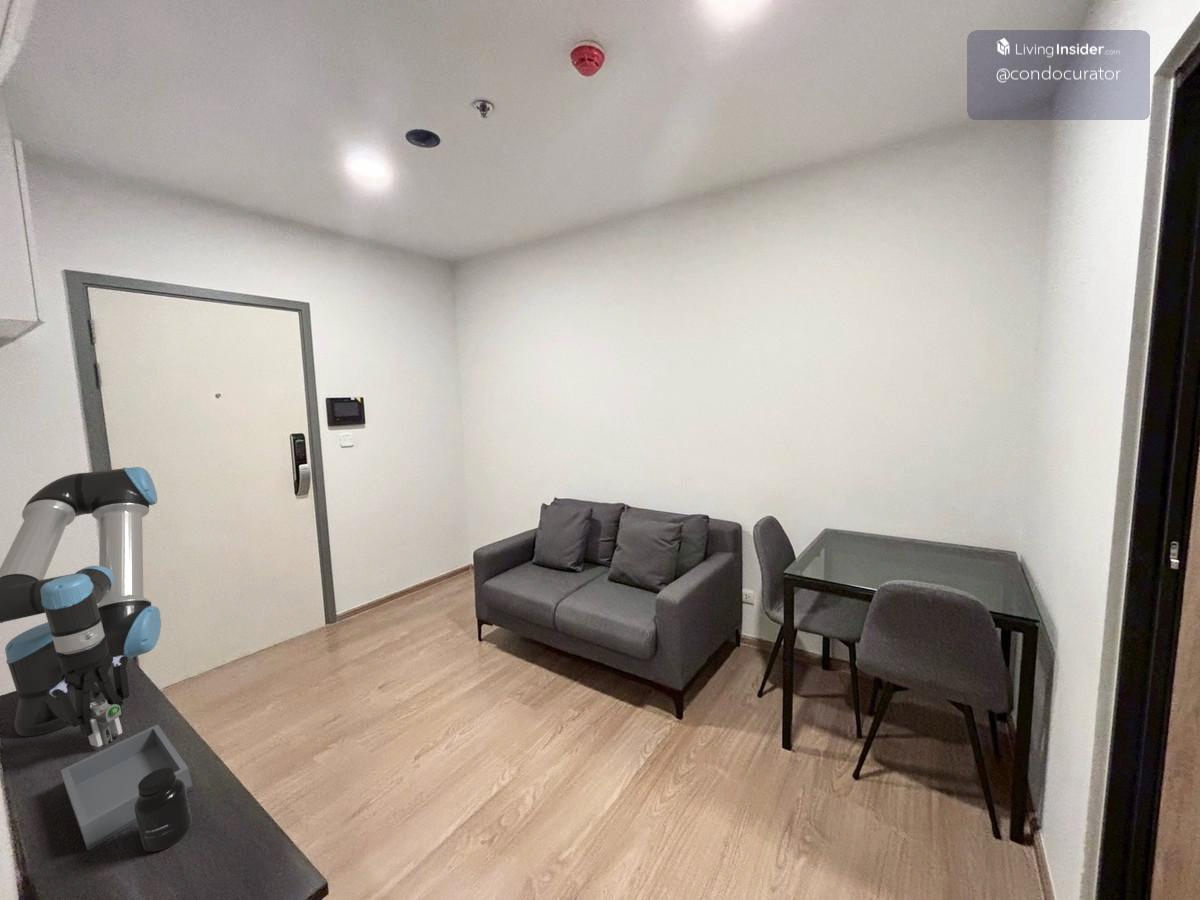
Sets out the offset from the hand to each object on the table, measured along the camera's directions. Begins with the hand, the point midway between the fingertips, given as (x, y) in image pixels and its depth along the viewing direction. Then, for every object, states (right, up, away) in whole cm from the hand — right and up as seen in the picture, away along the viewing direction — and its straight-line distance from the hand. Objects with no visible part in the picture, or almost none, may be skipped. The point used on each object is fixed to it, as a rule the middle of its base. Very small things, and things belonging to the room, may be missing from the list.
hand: (106, 738), depth 112 cm
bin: (+18, -3, -13) cm, 22 cm away
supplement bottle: (+35, -4, -23) cm, 42 cm away
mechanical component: (0, -1, 0) cm, 1 cm away
